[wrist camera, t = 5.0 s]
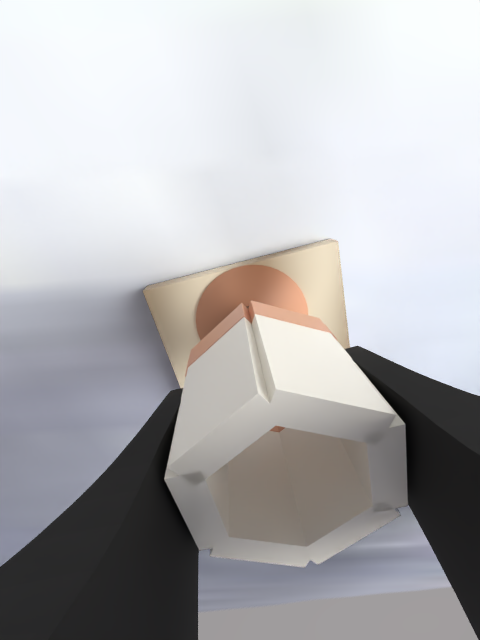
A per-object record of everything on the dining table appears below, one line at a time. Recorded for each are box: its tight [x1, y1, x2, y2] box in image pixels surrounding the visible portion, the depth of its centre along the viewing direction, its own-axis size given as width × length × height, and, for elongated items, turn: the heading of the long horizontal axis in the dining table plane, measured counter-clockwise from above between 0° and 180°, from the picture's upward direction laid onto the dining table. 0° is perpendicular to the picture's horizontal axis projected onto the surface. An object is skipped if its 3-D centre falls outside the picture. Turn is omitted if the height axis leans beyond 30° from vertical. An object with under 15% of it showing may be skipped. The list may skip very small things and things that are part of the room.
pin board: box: [143, 239, 350, 388], centre depth 15 cm, size 10×12×5 cm
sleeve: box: [164, 301, 408, 567], centre depth 9 cm, size 5×6×5 cm
